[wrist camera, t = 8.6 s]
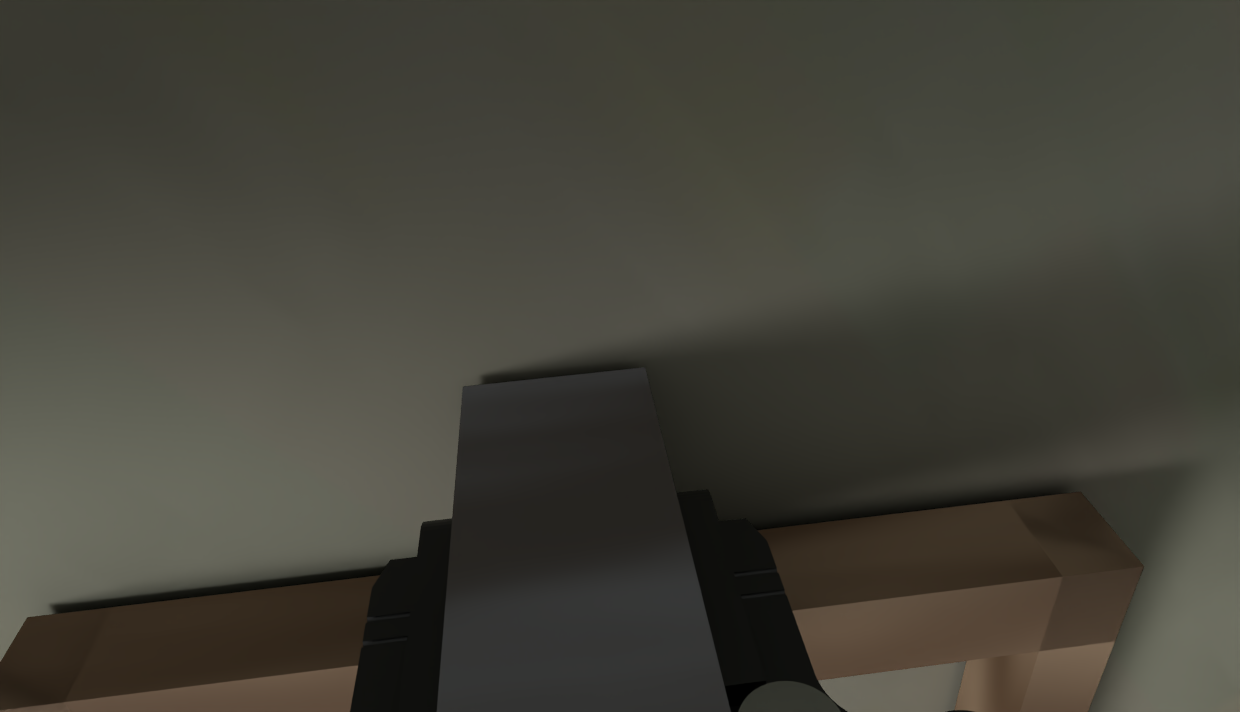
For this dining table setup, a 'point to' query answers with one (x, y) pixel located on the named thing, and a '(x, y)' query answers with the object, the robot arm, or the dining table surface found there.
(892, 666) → the frame
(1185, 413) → the dining table surface
